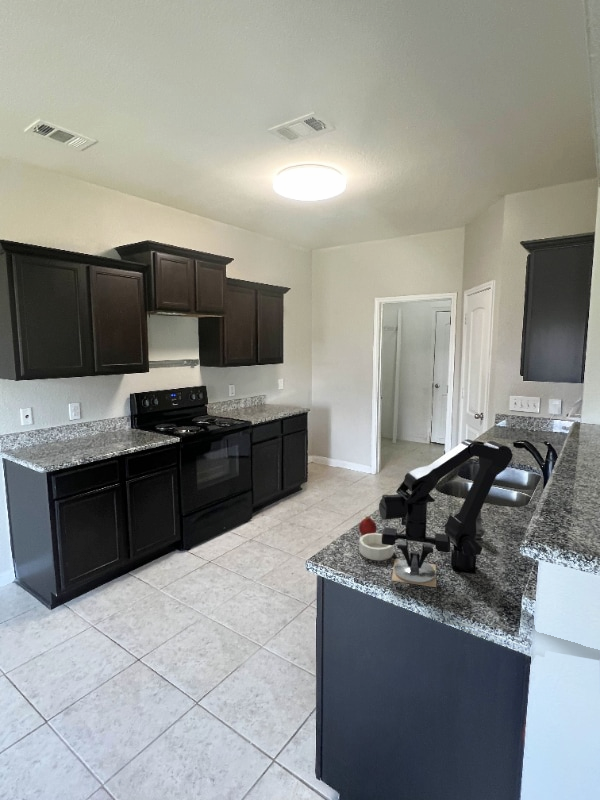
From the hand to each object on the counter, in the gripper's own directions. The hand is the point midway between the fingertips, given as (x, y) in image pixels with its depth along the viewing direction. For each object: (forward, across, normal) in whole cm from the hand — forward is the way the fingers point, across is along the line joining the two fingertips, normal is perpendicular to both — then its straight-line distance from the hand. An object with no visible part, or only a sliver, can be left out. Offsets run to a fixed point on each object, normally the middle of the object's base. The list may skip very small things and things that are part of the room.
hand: (414, 566), depth 124 cm
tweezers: (+3, +5, -26) cm, 26 cm away
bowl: (+2, +12, -9) cm, 15 cm away
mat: (+2, 0, 0) cm, 2 cm away
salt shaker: (+2, -19, -27) cm, 33 cm away
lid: (+2, 0, 0) cm, 2 cm away
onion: (+2, +16, -18) cm, 24 cm away
